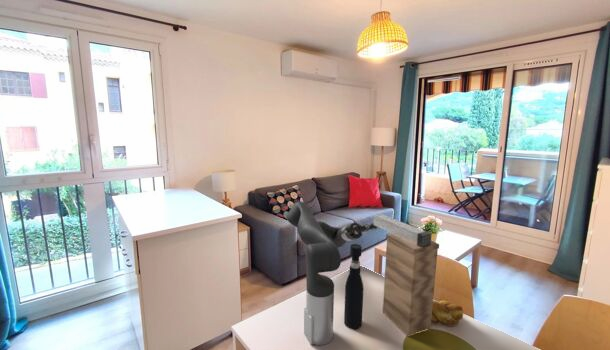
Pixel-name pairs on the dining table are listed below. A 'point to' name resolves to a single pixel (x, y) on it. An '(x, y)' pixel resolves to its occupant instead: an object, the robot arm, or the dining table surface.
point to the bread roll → (446, 313)
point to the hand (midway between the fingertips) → (368, 225)
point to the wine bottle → (354, 291)
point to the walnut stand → (409, 284)
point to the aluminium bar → (403, 230)
